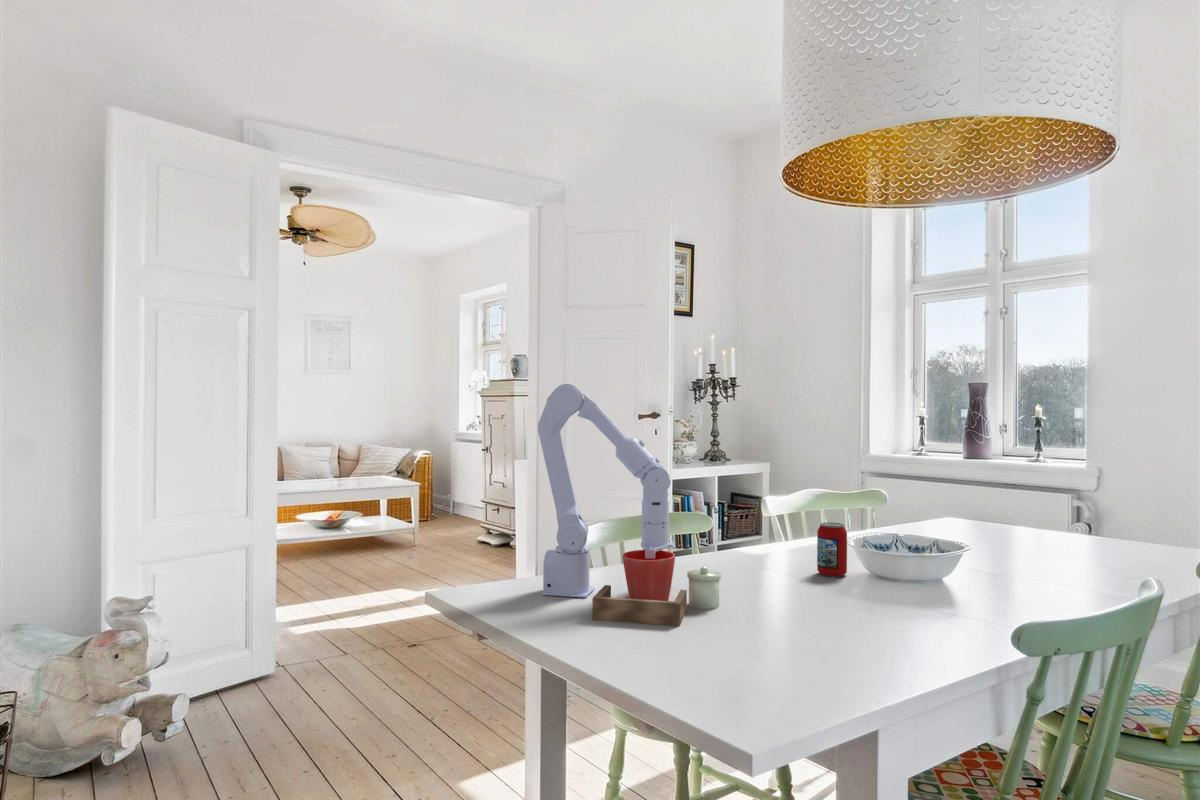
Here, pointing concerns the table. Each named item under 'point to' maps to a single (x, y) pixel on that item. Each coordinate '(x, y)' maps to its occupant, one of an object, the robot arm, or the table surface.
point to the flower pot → (649, 575)
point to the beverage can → (832, 549)
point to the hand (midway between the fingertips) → (655, 586)
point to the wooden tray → (638, 609)
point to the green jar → (704, 588)
